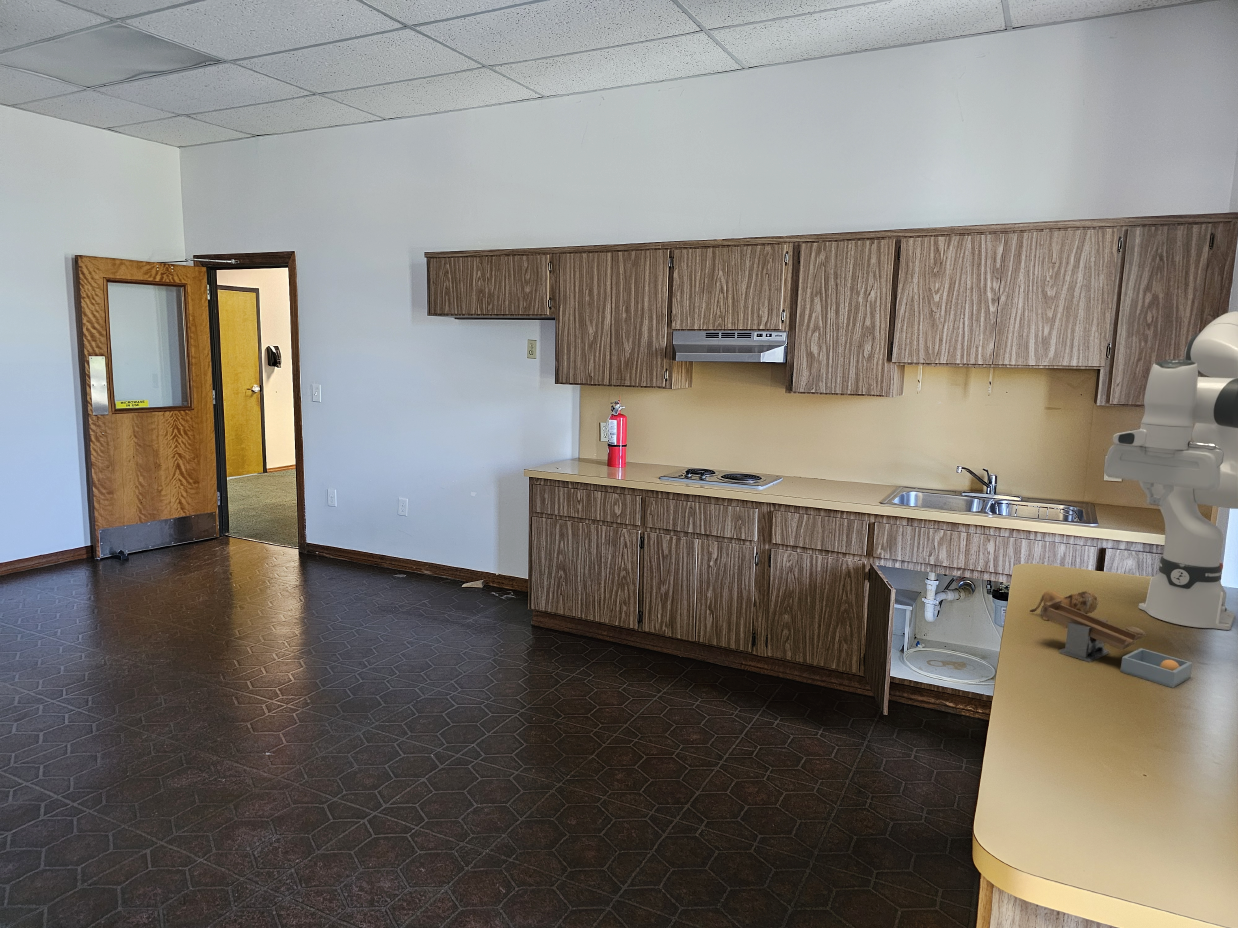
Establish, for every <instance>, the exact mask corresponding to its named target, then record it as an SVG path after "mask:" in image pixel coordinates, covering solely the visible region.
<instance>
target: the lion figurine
mask: <svg viewBox="0 0 1238 928" xmlns="http://www.w3.org/2000/svg"><path fill="white" fill-rule="evenodd" d="M1056 599H1060V600H1062V602H1061V604H1063V605H1066V606H1068V607H1071V608H1073V609H1076V610H1078V611H1081V612H1083V613H1085V614H1088V615H1090V614H1092V613H1094V612H1095V611H1096V610H1097V608H1098V605H1099V602H1100V601H1099V600H1098V595H1096V594H1095V593H1094V592H1093V591H1090V590H1085V591H1081V592H1078V593H1072V594H1070V595H1067V596H1063V595H1061V594H1059V593H1058V592H1057V591H1054V590H1047V591H1045V592H1044V593H1043V594H1042V595H1041V597H1040V600H1039V602H1038V604H1037V606H1036V607H1035V608H1033V609H1029V612H1031V613H1035V612H1036V611H1037V610H1039V609H1040V607H1041V609H1040V612H1039V613H1040V615H1042V613H1043V610H1044V606H1045V603H1048V602H1050V601H1053V600H1056ZM1042 620H1043V621H1049V619H1047V618H1045V617H1042Z"/></svg>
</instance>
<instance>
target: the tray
mask: <svg viewBox="0 0 1238 928" xmlns="http://www.w3.org/2000/svg"><path fill="white" fill-rule="evenodd" d="M1165 660H1173V661H1175V662H1176V663H1178V665H1179V666H1180V667H1179V668H1177V669H1175V670H1173V671H1171V670H1168V669H1164V668H1161V667H1160V665H1161V663H1162V662H1163V661H1165ZM1192 669H1193V662H1191V661H1188V660H1184V659H1182V658H1181V659H1180V658H1178V657H1173V656H1170V655H1166V654H1163V653H1159V652H1156V651H1153V650H1148V649H1146V648H1142V647H1140V648H1138V649H1136V650H1134V651H1132V652H1130V653H1128V654H1126V655H1123V656H1122V658H1121V665H1120V671H1119V672H1121V673H1124V674H1127V675H1130V676H1133V677H1137V678H1140V679H1142V680H1146V681H1148V682H1153V683H1156V684H1159V685H1162V686H1166V687H1169V688H1172V689H1173V688H1176V686H1178V685H1180V684H1181V683H1183V682H1185V681H1188V679H1190V678H1191V675H1192Z"/></svg>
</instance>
